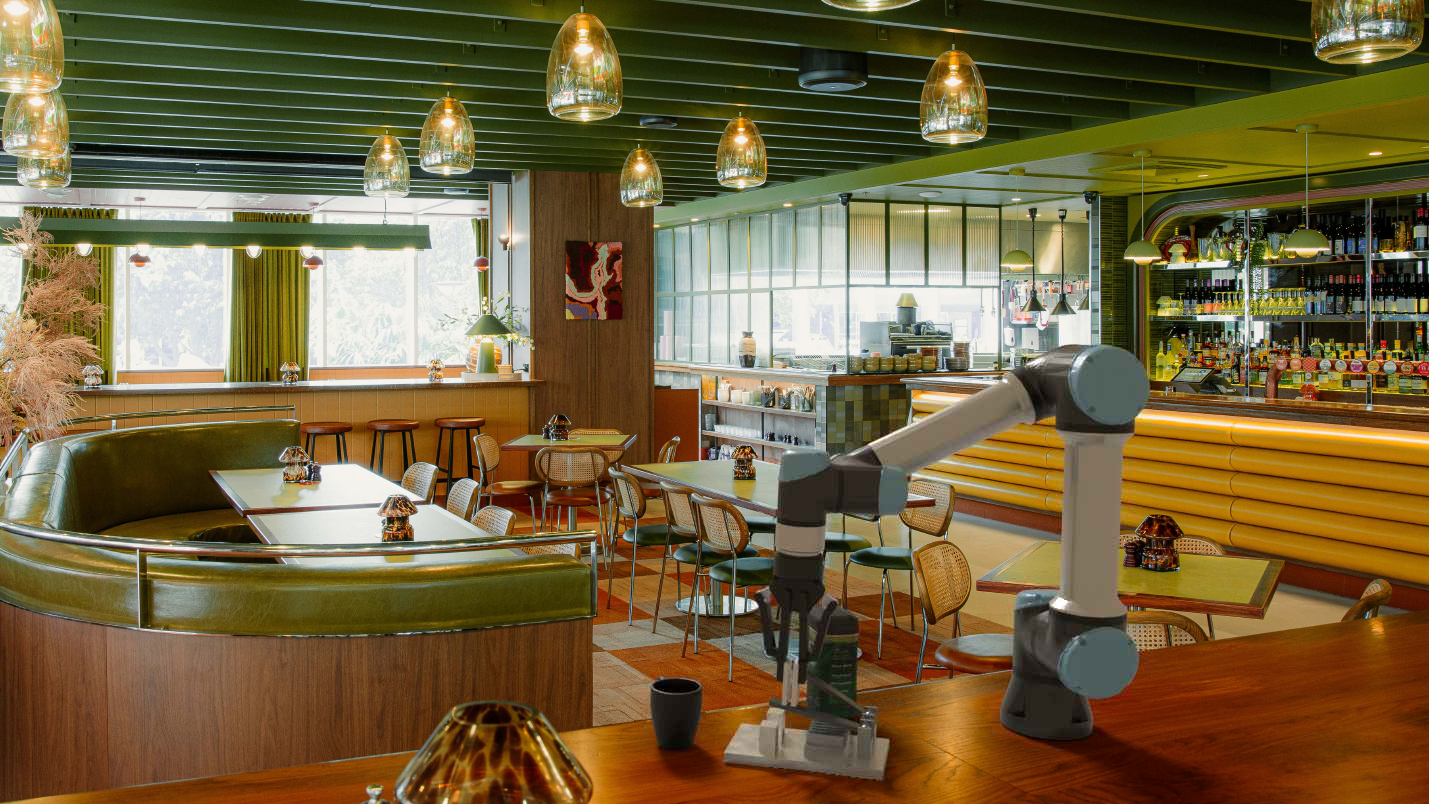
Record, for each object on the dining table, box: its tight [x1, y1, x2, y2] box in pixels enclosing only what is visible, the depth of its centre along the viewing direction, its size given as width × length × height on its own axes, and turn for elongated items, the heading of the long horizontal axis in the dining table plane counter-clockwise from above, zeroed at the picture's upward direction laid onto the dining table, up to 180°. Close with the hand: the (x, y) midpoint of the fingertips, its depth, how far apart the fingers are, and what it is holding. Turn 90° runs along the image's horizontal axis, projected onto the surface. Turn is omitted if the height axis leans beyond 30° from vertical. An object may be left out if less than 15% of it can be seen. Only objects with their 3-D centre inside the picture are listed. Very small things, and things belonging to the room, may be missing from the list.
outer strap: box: [768, 696, 872, 733], centre depth 166 cm, size 16×2×2 cm, turn 77°
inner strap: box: [791, 659, 875, 718], centre depth 171 cm, size 16×2×2 cm
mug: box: [649, 675, 703, 752], centre depth 174 cm, size 8×12×10 cm
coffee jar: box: [805, 604, 860, 720], centre depth 188 cm, size 10×8×19 cm
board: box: [723, 705, 890, 781], centre depth 169 cm, size 24×13×7 cm, turn 77°
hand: (790, 702), depth 167 cm, fingers closed
